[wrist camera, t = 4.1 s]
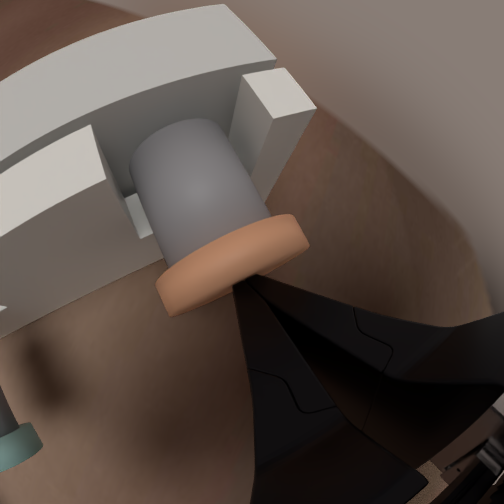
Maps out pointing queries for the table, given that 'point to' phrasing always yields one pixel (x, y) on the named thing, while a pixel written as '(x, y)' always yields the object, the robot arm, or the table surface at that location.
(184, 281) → the terracotta button
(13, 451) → the teal button
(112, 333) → the table surface
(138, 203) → the button panel
